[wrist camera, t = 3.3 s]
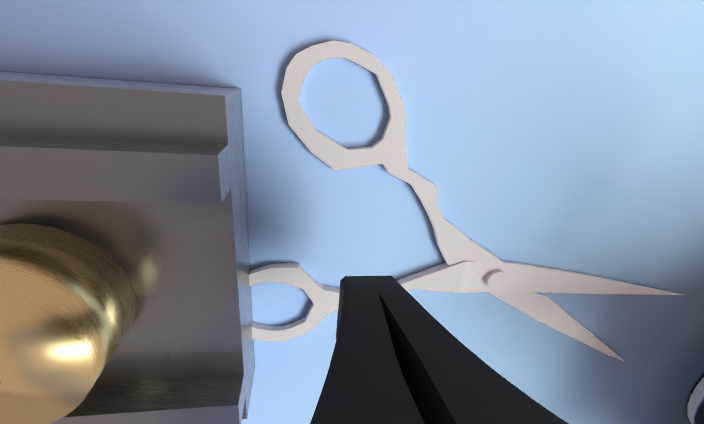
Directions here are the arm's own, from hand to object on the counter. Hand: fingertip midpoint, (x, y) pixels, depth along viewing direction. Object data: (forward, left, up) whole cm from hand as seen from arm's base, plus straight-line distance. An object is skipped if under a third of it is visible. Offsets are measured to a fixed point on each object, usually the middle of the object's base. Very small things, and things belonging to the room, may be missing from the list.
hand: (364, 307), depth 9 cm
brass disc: (0, +8, -1) cm, 8 cm away
